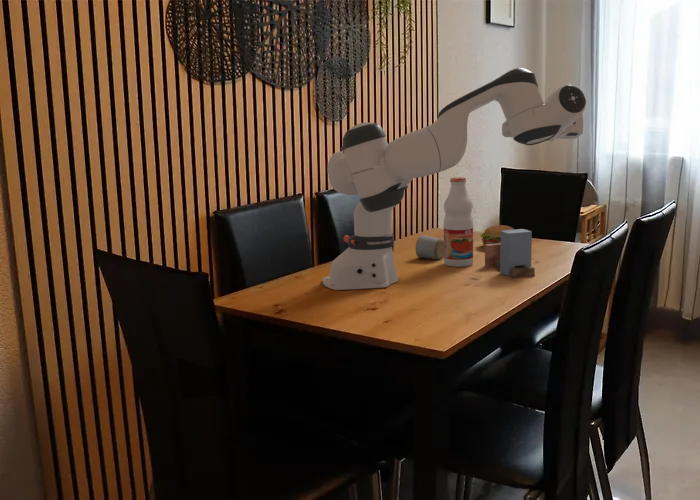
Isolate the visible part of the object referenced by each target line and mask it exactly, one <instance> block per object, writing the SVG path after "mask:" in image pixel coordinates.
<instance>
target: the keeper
mask: <svg viewBox="0 0 700 500" xmlns="http://www.w3.org/2000/svg"><path fill="white" fill-rule="evenodd" d="M532 233H533V232H532V230H528V229H524V228H519V229H518V228H517V229H514V230H506V231H501V244H500V269H499V272H500V274H503V275H506V276H508V277H511V269H514V267H515V266H520V265H521V266H524V267H532V246H533V245H532V242H533V241H532V237H533V236H532V235H533V234H532Z"/></svg>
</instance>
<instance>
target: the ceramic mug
mask: <svg viewBox="0 0 700 500" xmlns="http://www.w3.org/2000/svg"><path fill="white" fill-rule="evenodd" d="M415 254H416V256H417V257H418V258H420V259H428V260H429V259H430V260H441V259H442V258H444V239H442V238H438V237H434V236H427V235H424V234H423V235H420V236H419V237H418V238H417V240H416V242H415Z"/></svg>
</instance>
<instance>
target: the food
mask: <svg viewBox="0 0 700 500" xmlns="http://www.w3.org/2000/svg"><path fill="white" fill-rule="evenodd" d="M506 230H515V229H514V228H513V227H512V226H509V225H503V224H497V225H496V224H495V225H492V226H489V227H487V228H485V229H484V231H483V232H482V233H481V234H480V237H481V242H482V244H483V245H482V246H483V248H485V244H494V243H501V231H506Z"/></svg>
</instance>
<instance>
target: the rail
mask: <svg viewBox="0 0 700 500" xmlns="http://www.w3.org/2000/svg"><path fill="white" fill-rule="evenodd" d="M500 244H501V243H494V244H485V247H484V267H486V268H496V269H498V270H500ZM535 269H536V268H535V266H531V267H524V266H521V265H520V266H515V267H514V269H511V276H510V278H513V279H520V278H525V277H527V278H529V277H534V276H535V271H536V270H535Z"/></svg>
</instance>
